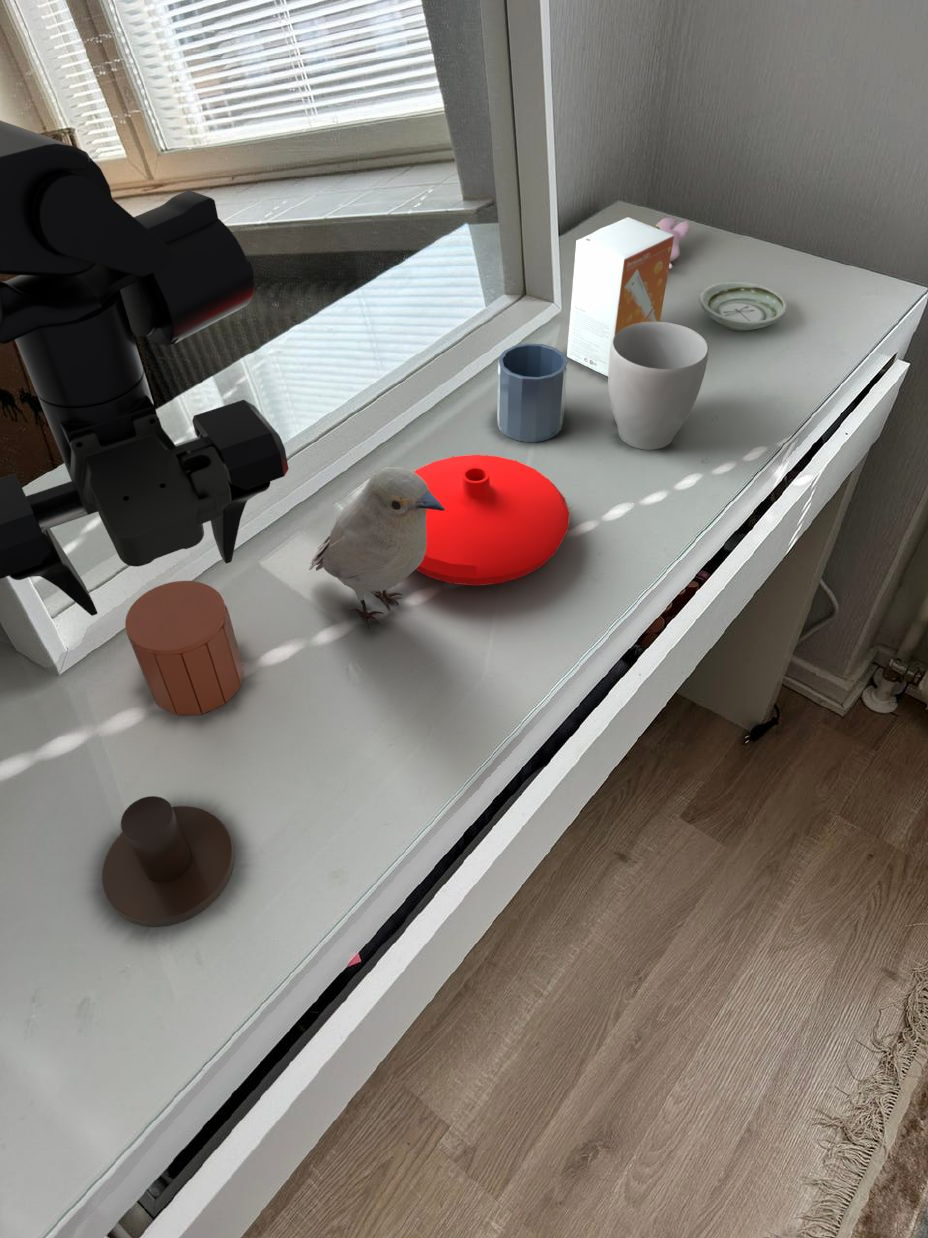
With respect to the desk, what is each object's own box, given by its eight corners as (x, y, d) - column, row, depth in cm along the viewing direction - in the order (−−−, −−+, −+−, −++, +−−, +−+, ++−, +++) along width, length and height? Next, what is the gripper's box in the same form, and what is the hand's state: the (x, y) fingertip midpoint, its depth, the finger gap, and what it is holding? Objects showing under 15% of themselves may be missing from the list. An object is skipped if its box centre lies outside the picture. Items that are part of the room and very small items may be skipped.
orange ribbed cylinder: (169, 729, 66) (143, 665, 60) (138, 668, 70) (112, 603, 64) (257, 689, 68) (239, 624, 63) (223, 633, 72) (204, 568, 67)
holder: (128, 951, 54) (98, 905, 50) (89, 849, 59) (59, 799, 55) (254, 885, 57) (236, 836, 53) (207, 792, 62) (188, 741, 58)
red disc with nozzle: (474, 462, 87) (474, 398, 82) (604, 539, 79) (613, 473, 74) (347, 541, 79) (338, 475, 74) (476, 634, 72) (476, 568, 66)
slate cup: (521, 450, 88) (524, 386, 83) (485, 417, 92) (485, 354, 87) (575, 429, 91) (581, 366, 86) (537, 398, 95) (540, 336, 90)
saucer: (739, 350, 101) (743, 330, 99) (679, 314, 106) (682, 295, 105) (800, 325, 104) (806, 305, 103) (739, 292, 110) (743, 273, 108)
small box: (609, 379, 97) (624, 259, 88) (565, 357, 100) (574, 238, 91) (657, 351, 101) (676, 233, 91) (612, 330, 104) (626, 214, 95)
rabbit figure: (655, 304, 111) (702, 238, 118) (659, 260, 106) (708, 193, 113) (608, 292, 113) (657, 228, 120) (609, 248, 108) (661, 184, 115)
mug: (667, 471, 86) (683, 380, 79) (584, 441, 89) (593, 351, 82) (719, 411, 93) (739, 323, 86) (640, 385, 96) (653, 298, 89)
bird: (430, 664, 70) (422, 510, 59) (296, 595, 75) (266, 442, 64) (466, 625, 72) (465, 471, 62) (335, 561, 78) (312, 409, 67)
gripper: (-63, 518, 42) (52, 726, 53) (308, 395, 49) (340, 603, 60) (-102, 404, 49) (7, 610, 60) (229, 310, 55) (271, 511, 66)
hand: (161, 584), depth 61 cm, fingers open, 9 cm apart
